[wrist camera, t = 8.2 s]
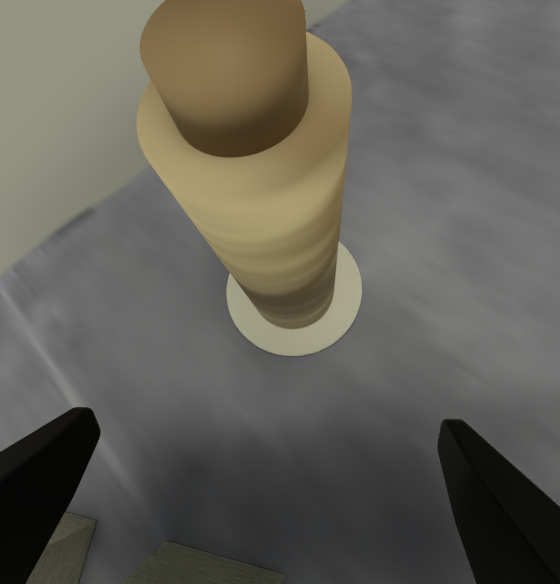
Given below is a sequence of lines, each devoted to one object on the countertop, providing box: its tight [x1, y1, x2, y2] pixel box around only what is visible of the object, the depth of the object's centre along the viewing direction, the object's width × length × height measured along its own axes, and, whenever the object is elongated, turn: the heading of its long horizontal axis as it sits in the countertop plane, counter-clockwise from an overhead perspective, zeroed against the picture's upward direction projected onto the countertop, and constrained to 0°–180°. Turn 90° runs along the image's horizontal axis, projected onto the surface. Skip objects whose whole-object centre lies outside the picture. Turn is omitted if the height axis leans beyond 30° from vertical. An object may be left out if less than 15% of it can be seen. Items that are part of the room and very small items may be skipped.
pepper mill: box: [137, 0, 352, 329], centre depth 13 cm, size 5×5×14 cm
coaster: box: [227, 242, 362, 356], centre depth 20 cm, size 8×8×1 cm
